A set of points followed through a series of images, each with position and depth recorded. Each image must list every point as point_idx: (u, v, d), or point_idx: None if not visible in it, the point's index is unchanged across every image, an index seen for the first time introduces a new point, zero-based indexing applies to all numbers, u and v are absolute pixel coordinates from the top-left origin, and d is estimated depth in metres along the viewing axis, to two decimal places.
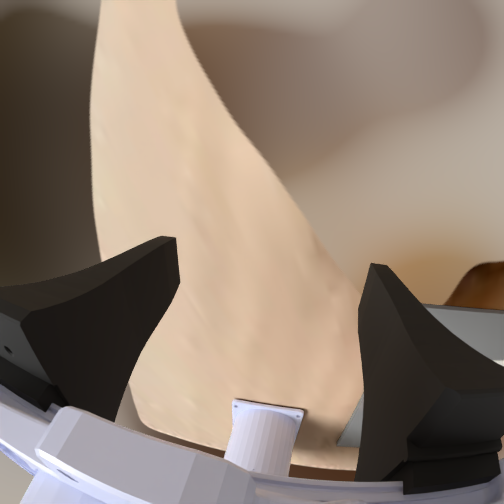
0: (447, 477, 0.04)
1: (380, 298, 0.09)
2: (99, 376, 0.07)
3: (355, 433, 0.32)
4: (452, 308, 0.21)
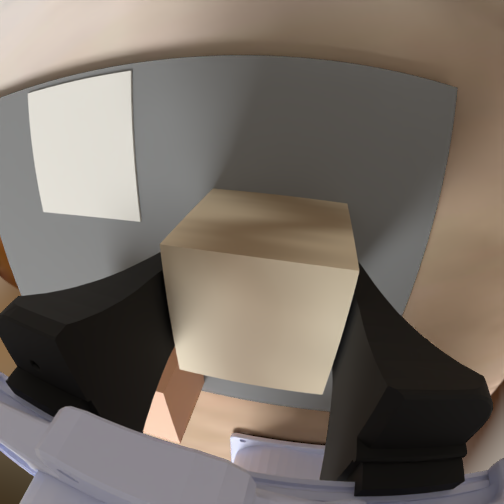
0: (402, 481, 0.04)
1: None
2: (130, 387, 0.07)
3: (297, 394, 0.17)
4: None
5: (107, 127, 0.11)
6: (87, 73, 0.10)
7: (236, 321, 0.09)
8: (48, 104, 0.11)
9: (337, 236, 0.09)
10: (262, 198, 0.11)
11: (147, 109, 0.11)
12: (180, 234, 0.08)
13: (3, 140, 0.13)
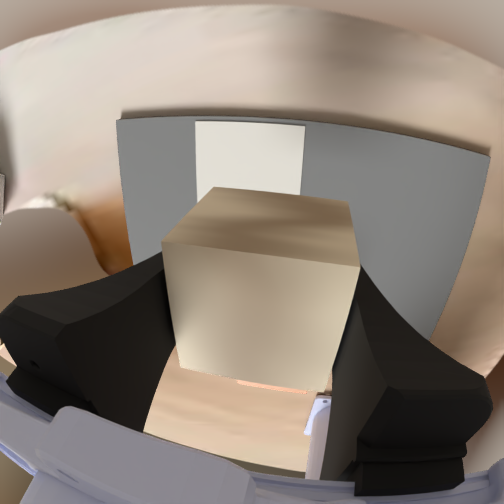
0: (401, 481, 0.04)
1: None
2: (130, 387, 0.07)
3: None
4: None
5: (280, 162, 0.18)
6: (264, 119, 0.17)
7: (238, 318, 0.09)
8: (220, 135, 0.18)
9: (338, 234, 0.09)
10: (263, 196, 0.11)
11: (315, 155, 0.17)
12: (181, 231, 0.09)
13: (155, 156, 0.19)
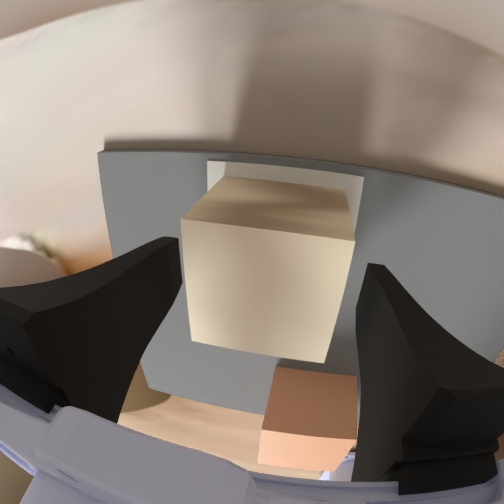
0: (443, 478, 0.04)
1: (377, 298, 0.09)
2: (102, 377, 0.07)
3: None
4: None
5: None
6: (307, 163, 0.12)
7: (247, 290, 0.10)
8: None
9: (335, 215, 0.10)
10: (268, 184, 0.12)
11: (373, 216, 0.13)
12: (198, 211, 0.10)
13: (151, 204, 0.14)
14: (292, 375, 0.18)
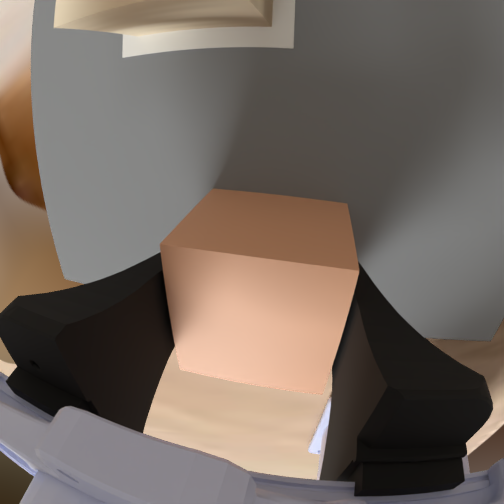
0: (401, 481, 0.04)
1: None
2: (130, 387, 0.07)
3: (442, 315, 0.12)
4: None
5: None
6: None
7: None
8: None
9: None
10: None
11: None
12: None
13: None
14: (236, 195, 0.11)
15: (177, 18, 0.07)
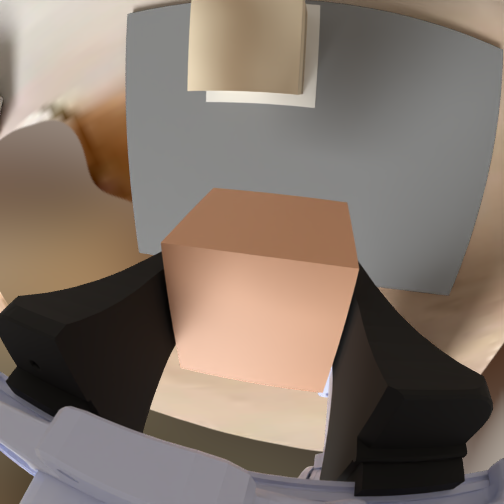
0: (402, 481, 0.04)
1: None
2: (130, 387, 0.07)
3: (409, 273, 0.20)
4: None
5: None
6: None
7: (233, 31, 0.11)
8: None
9: None
10: None
11: (331, 31, 0.14)
12: None
13: (164, 41, 0.16)
14: (237, 194, 0.11)
15: None
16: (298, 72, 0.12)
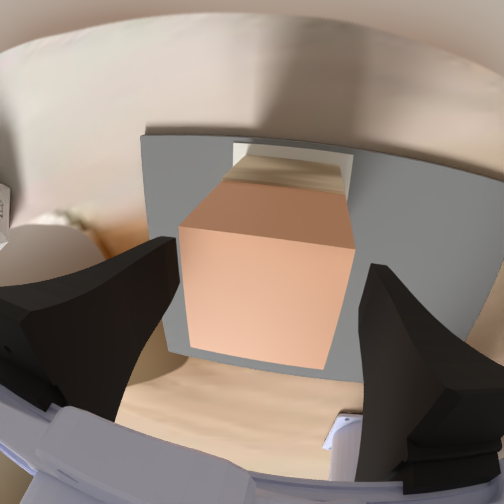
0: (447, 477, 0.04)
1: (380, 298, 0.09)
2: (99, 376, 0.07)
3: None
4: None
5: None
6: (310, 145, 0.16)
7: None
8: None
9: (332, 178, 0.14)
10: (281, 160, 0.16)
11: (361, 185, 0.16)
12: (233, 173, 0.13)
13: (185, 178, 0.18)
14: (244, 186, 0.12)
15: None
16: None
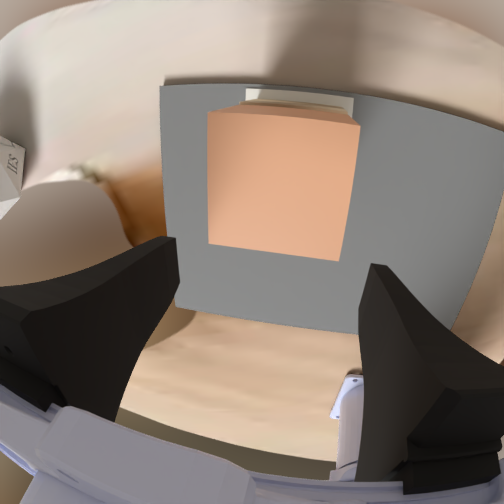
0: (447, 477, 0.04)
1: (380, 298, 0.09)
2: (99, 376, 0.07)
3: None
4: None
5: None
6: (315, 89, 0.17)
7: None
8: None
9: (335, 108, 0.14)
10: (289, 101, 0.17)
11: (362, 126, 0.17)
12: (249, 101, 0.14)
13: (200, 122, 0.19)
14: (260, 106, 0.13)
15: None
16: None
